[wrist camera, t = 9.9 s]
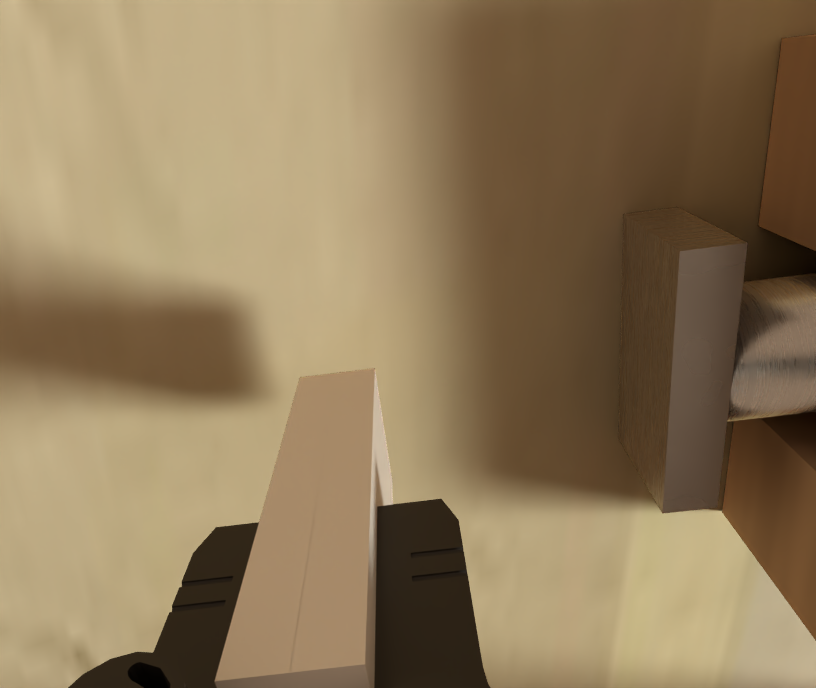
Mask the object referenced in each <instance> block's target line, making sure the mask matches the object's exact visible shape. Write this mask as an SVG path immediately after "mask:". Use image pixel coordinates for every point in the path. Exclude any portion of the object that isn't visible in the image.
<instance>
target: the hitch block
mask: <svg viewBox="0 0 816 688" xmlns="http://www.w3.org/2000/svg"><path fill="white" fill-rule="evenodd" d="M758 226H760V227H762V228H764V229H766V230H769V231H771V232H773V233H776V234H778V235H780V236H782V237H785V238H787V239H789V240H791V241H794V242H796V243H798V244H801V245H803V246H805V247H807V248H810V249H812V250H814V251H816V34H812V35H805V36H797V37H789V38H782V42H781V50H780V58H779V66H778V74H777V82H776V90H775V98H774V106H773V114H772V122H771V129H770V137H769V145H768V153H767V161H766V169H765V177H764V185H763V193H762V201H761V209H760V217H759V225H758ZM722 513H723V514H724V515H725V517H726V518H727V519H728V521H729V522H730V523H731V525H732V526H733V528H734V529H735V530H736V532H737V533H738V534H739V536H740V537H741V539H742V540H743V541H744V543H745V544H746V545H747V547H748V548H749V550H750V551H751V552H752V554H753V555H754V556H755V558H756V559H757V561H758V562H759V563H760V565H761V566H762V567H763V569H764V570H765V571H766V573H767V574H768V576H769V577H770V578H771V580H772V581H773V582H774V584H775V585H776V587H777V588H778V589H779V591H780V592H781V593H782V595H783V596H784V598H785V599H786V600H787V602H788V603H789V604H790V606H791V607H792V609H793V610H794V611H795V613H796V614H797V615H798V617H799V618H800V619H801V621H802V622H803V624H804V625H805V626H806V628H807V629H808V630H809V632H810V633H811V635H812V636H813V637H814V639H815V640H816V412H808V413H799V414H791V415H782V416H773V417H764V418H755V419H747V420H738V421H734V423H733V431H732V439H731V447H730V454H729V462H728V470H727V478H726V486H725V494H724V502H723V510H722Z"/></svg>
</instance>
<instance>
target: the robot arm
mask: <svg viewBox="0 0 816 688" xmlns="http://www.w3.org/2000/svg"><path fill="white" fill-rule="evenodd" d="M68 688H490V686H489V685H488V682H487V679H486V676H485V673H484V669H483V665H482V659H481V653H480V647H479V641H478V635H477V629H476V623H475V617H474V611H473V605H472V599H471V593H470V587H469V581H468V576H467V569H466V563H465V557H464V552H463V545H462V539H461V533H460V527H459V521H458V519H457V518H456V516H455V515H454V514H453V513H452V511H451V510H450V509H449V508H448V507H447V505H446V504H445V503H444V502H443V500H442V499H436V500H427V501H419V502H410V503H402V504H393V491H392V475H391V469H390V463H389V456H388V450H387V443H386V437H385V431H384V424H383V418H382V411H381V405H380V398H379V392H378V386H377V379H376V373H375V368H373V369H364V370H356V371H348V372H339V373H331V374H323V375H315V376H306V377H300V378H299V382H298V385H297V389H296V392H295V396H294V400H293V403H292V407H291V410H290V414H289V417H288V421H287V425H286V428H285V432H284V435H283V439H282V442H281V446H280V450H279V453H278V457H277V460H276V464H275V467H274V471H273V475H272V478H271V482H270V485H269V489H268V492H267V496H266V499H265V503H264V507H263V510H262V514H261V517H260V521H259V522H258V523H250V524H241V525H233V526H224V527H216V528H215V529H214V530H213V531H212V533H211V534H210V535H209V536H208V537H207V538H206V539H205V540H204V542H203V543H202V544H201V545H200V546H199V547H198V548H197V549H196V551H195V552H194V553H193V555H192V557H191V560H190V562H189V565H188V567H187V570H186V572H185V575H184V577H183V580H182V587H180V588H179V590H178V592H177V595H176V597H175V600H174V602H173V605H172V612H169V615H168V617H167V620H166V622H165V625H164V627H163V630H162V632H161V635H160V637H159V640H158V642H157V645H156V647H155V650H154V652H153V653H148V652H135V653H131V654H127V655H124V656H120V657H116V658H113V659H110V660H108V661H106V662H104V663H103V664H101V665H99V666H97V667H95V668H94V669H92V670H90V671H88V672H87V673H85V674H83V675H82V676H81V677H80V678H79V679H77V680H76V681H75V682H74V683H73V684H72V685H71V686H70V687H68Z"/></svg>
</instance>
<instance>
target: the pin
mask: <svg viewBox="0 0 816 688" xmlns="http://www.w3.org/2000/svg"><path fill="white" fill-rule="evenodd" d="M747 245H748V243H747V242H745V241H743V240H741V239H739V238H737V237H735V236H733V235H732V234H730V233H728V232H726V231H724V230H722V229H720V228H718V227H716V226H714V225H712V224H710V223H708V222H706V221H704V220H702V219H700V218H698V217H696V216H694V215H692V214H690V213H688V212H686V211H684V210H682V209H681V208H679V207H673V208H666V209H658V210H650V211H642V212H634V213H626V214H623V251H622V293H621V336H620V379H619V421H618V439H619V441H620V442H621V444H622V446H623V448H624V449H625V451H626V453H627V454H628V456H629V458H630V459H631V461H632V463H633V464H634V466H635V468H636V470H637V471H638V473H639V475H640V476H641V478H642V480H643V481H644V483H645V485H646V486H647V488H648V490H649V492H650V493H651V495H652V497H653V498H654V500H655V502H656V503H657V505H658V507H659V508H660V510H661V512H662V513H670V512H679V511H689V510H698V509H707V508H716V507H718V498H719V489H720V480H721V472H722V463H723V454H724V446H725V437H726V428H727V422H729V421H738V420H747V419H755V418H764V417H773V416H782V415H791V414H799V413H808V412H816V273H812V274H804V275H796V276H788V277H780V278H772V279H763V280H755V281H747V282H743V280H744V271H745V262H746V254H747Z"/></svg>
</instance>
